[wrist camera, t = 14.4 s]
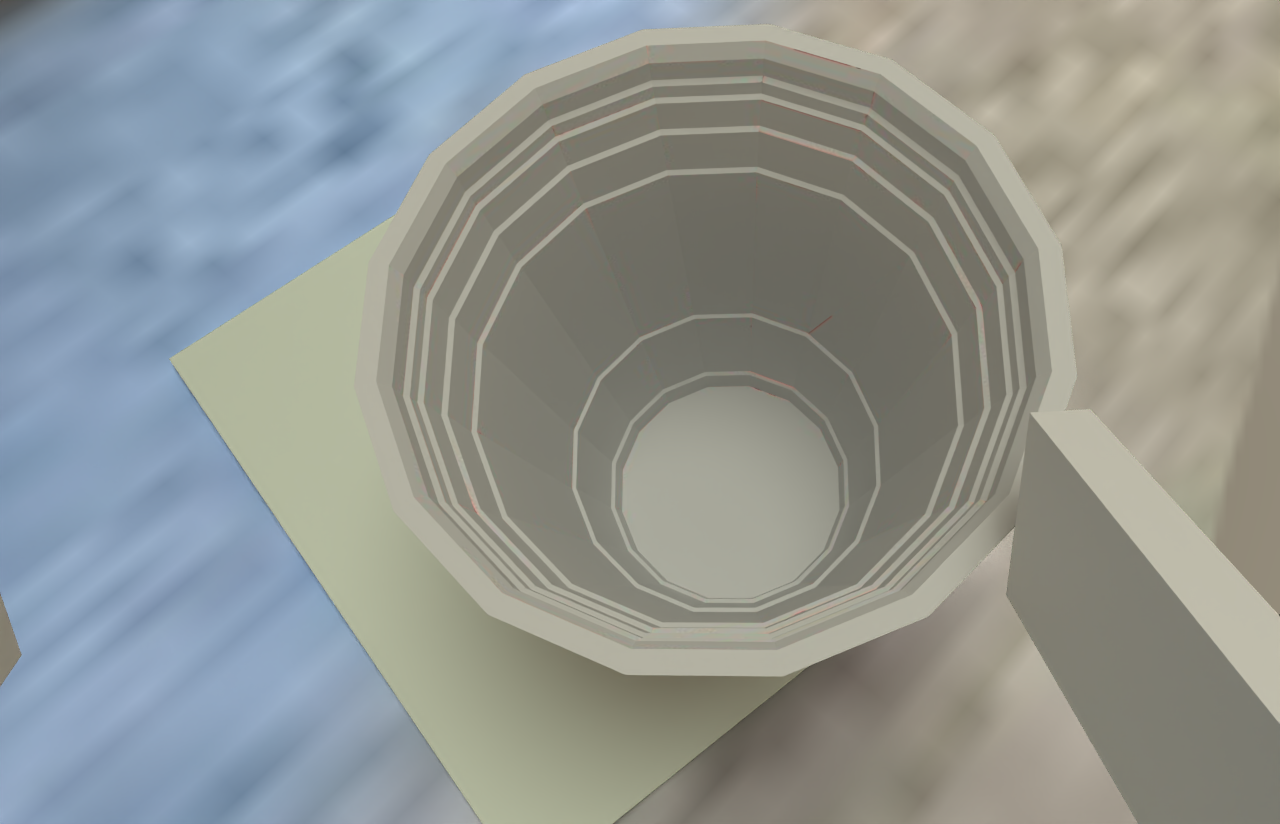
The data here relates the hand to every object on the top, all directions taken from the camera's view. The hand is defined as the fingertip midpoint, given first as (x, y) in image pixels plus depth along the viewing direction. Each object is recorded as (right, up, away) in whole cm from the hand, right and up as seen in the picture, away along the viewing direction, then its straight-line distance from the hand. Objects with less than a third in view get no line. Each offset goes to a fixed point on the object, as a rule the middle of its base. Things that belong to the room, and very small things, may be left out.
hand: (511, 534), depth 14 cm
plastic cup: (+4, 0, +14) cm, 15 cm away
